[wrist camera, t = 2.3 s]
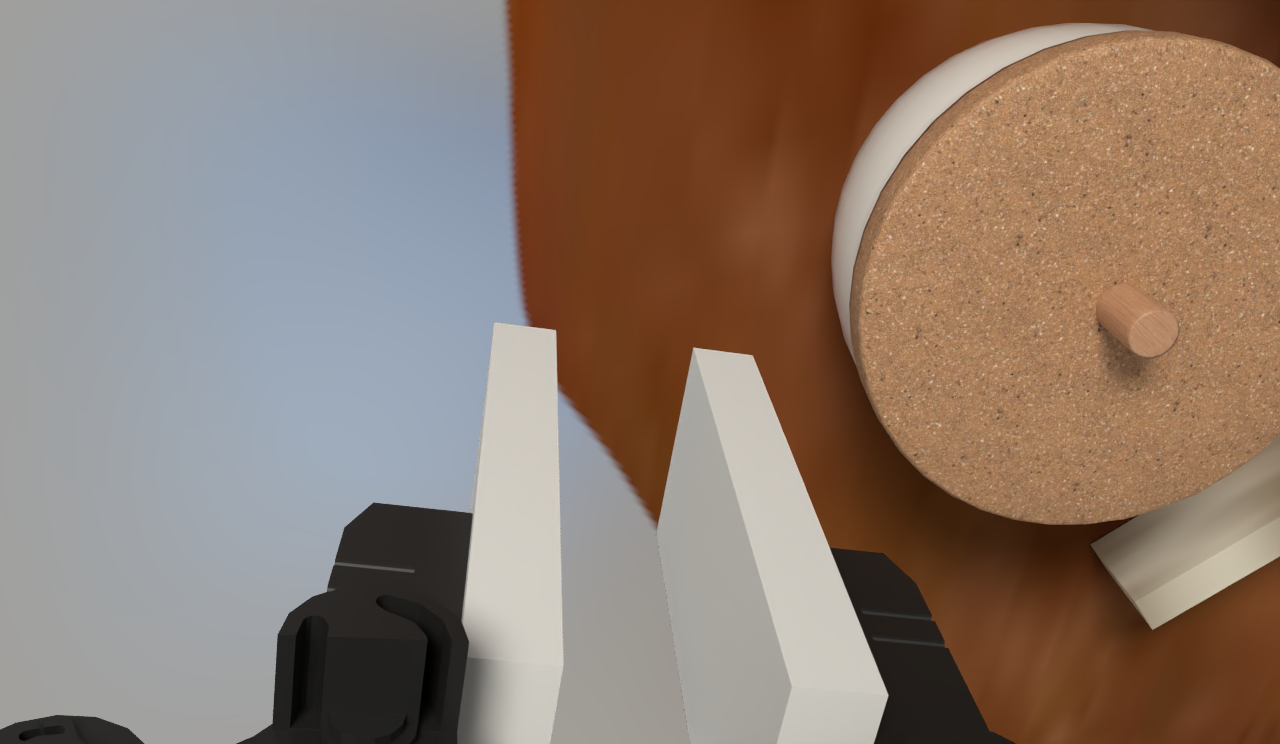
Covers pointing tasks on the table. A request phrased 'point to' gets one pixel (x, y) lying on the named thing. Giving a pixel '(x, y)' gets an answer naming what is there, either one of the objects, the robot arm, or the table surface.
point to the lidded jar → (1070, 270)
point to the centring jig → (1198, 541)
